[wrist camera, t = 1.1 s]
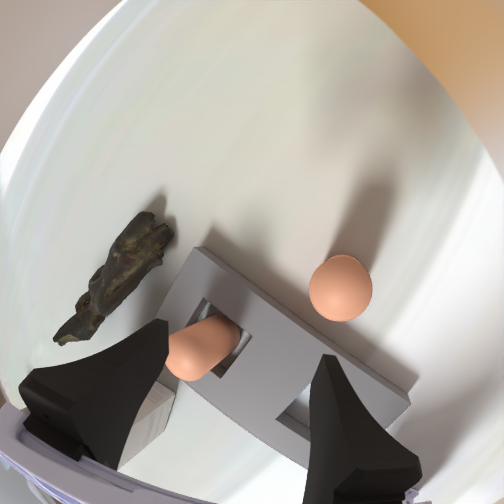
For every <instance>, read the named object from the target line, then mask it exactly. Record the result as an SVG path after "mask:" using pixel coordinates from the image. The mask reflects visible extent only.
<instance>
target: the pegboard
mask: <svg viewBox="0 0 504 504" xmlns="http://www.w3.org/2000/svg"><path fill="white" fill-rule="evenodd" d="M207 302H210V303H211V304H212V305H213V306H215V307H216V308H217V309H218V310H220V311H221V312H222V313H223V314H225V315H226V316H227V317H228V318H230V319H231V320H232V321H234V322H235V323H236V324H237V325H239V326H240V327H241V328H243V329H244V330H245V331H247V332H248V333H249V334H250V335H252V336H253V337H252V338H251V340H250V341H249V342H248V344H247V345H246V346H245V348H244V349H243V351H242V352H241V353H240V354H239V356H238V357H237V358H236V360H235V361H234V362H233V364H232V365H231V366H230V368H229V369H228V370H226V369H225V368H224V367H223V366H221V365H220V364H219V363H218V364H217V365H216V366H214V367H213V368H212V369H211V370H210V371H208V372H207V373H206V374H205V375H204V376H202V377H201V378H200V379H198V380H195V381H185V380H182V379H181V380H182V381H184V382H185V383H186V384H187V385H188V386H189V387H191V388H192V389H193V390H194V391H195V392H197V393H198V394H199V395H200V396H202V397H203V398H204V399H205V400H207V401H208V402H209V403H210V404H212V405H213V406H214V407H215V408H217V409H218V410H219V411H221V412H222V413H223V414H225V415H226V416H227V417H229V418H230V419H231V420H233V421H234V422H235V423H237V424H238V425H239V426H241V427H242V428H244V429H245V430H246V431H248V432H249V433H251V434H252V435H254V436H255V437H256V438H258V439H259V440H261V441H262V442H264V443H265V444H267V445H268V446H270V447H271V448H273V449H275V450H276V451H278V452H279V453H281V454H282V455H284V456H286V457H287V458H289V459H290V460H292V461H294V462H295V463H297V464H299V465H300V466H302V467H304V468H306V469H307V470H308V466H309V457H310V443H311V439H310V429H309V428H308V427H306V426H304V425H303V424H301V423H300V422H298V421H297V420H295V419H294V418H292V417H291V416H289V415H288V414H286V413H285V412H284V410H285V409H286V408H287V407H288V406H289V405H290V404H291V403H292V402H293V401H294V400H295V399H296V397H297V396H298V395H299V394H300V393H301V392H302V391H303V390H304V389H305V388H306V387H307V386H308V384H309V383H310V382H311V381H312V380H313V377H314V375H315V372H316V370H317V367H318V365H319V362H320V360H321V357H322V355H323V354H329V355H336V357H337V358H338V360H339V362H340V365H341V366H342V368H343V370H344V372H345V374H346V376H347V378H348V380H349V382H350V383H351V385H352V387H353V389H354V390H355V392H356V394H357V395H358V397H359V398H360V400H361V402H362V403H363V405H364V406H365V407H366V409H367V410H368V411H369V413H370V414H371V415H372V416H373V418H374V419H375V420H376V421H377V422H378V423H379V424H380V425H381V426H382V428H383V429H384V430H385V429H386V428H387V427H388V426H389V425H390V424H392V423H393V422H394V421H395V420H396V419H397V418H398V417H399V416H400V415H401V414H402V413H403V412H404V411H405V410H406V409H407V408H408V406H409V405H410V404H411V402H410V399H409V396H408V394H407V393H406V392H404V391H403V390H401V389H400V388H398V387H397V386H395V385H394V384H392V383H391V382H390V381H388V380H387V379H385V378H384V377H382V376H381V375H379V374H378V373H377V372H375V371H374V370H372V369H371V368H369V367H368V366H366V365H365V364H364V363H362V362H361V361H359V360H358V359H356V358H355V357H354V356H352V355H351V354H349V353H348V352H347V351H345V350H344V349H342V348H341V347H339V346H338V345H337V344H335V343H334V342H332V341H331V340H330V339H328V338H327V337H325V336H324V335H323V334H321V333H320V332H318V331H317V330H316V329H314V328H313V327H311V326H310V325H309V324H307V323H306V322H305V321H303V320H302V319H300V318H299V317H298V316H296V315H295V314H294V313H292V312H291V311H289V310H288V309H287V308H285V307H284V306H283V305H281V304H280V303H279V302H277V301H276V300H274V299H273V298H272V297H270V296H269V295H268V294H266V293H265V292H264V291H262V290H261V289H260V288H258V287H257V286H256V285H254V284H253V283H251V282H250V281H249V280H247V279H246V278H245V277H243V276H242V275H241V274H239V273H238V272H237V271H235V270H234V269H233V268H231V267H230V266H229V265H227V264H226V263H225V262H224V261H222V260H221V259H220V258H218V257H217V256H216V255H214V254H213V253H212V252H210V251H209V250H208V249H206V248H205V247H194V248H193V250H192V251H191V253H190V255H189V257H188V258H187V260H186V262H185V263H184V265H183V267H182V269H181V270H180V272H179V274H178V276H177V278H176V279H175V281H174V283H173V285H172V286H171V288H170V290H169V292H168V294H167V295H166V297H165V299H164V301H163V303H162V305H161V306H160V308H159V310H158V312H157V314H156V316H155V317H154V319H156V318H158V319H162V320H166V321H168V323H169V336H170V335H172V334H174V333H176V332H178V331H180V330H182V329H184V328H186V327H189V326H191V325H193V324H194V323H195V321H196V320H197V318H198V317H199V315H200V313H201V312H202V310H203V309H204V307H205V305H206V304H207ZM154 319H153V320H154ZM164 365H165V366H166V364H164Z"/></svg>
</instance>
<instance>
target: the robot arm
mask: <svg viewBox="0 0 504 504" xmlns="http://www.w3.org/2000/svg"><path fill="white" fill-rule="evenodd" d="M168 355H169V323H168V321H166V320H162V319H158V318H156V319H154V320H153V321H151V322H150V323H148V324H147V325H145V326H144V327H142V328H141V329H139V330H138V331H136V332H135V333H133V334H132V335H130V336H128V337H127V338H125V339H124V340H122V341H120V342H118V343H117V344H115V345H113V346H111V347H109V348H107V349H105V350H103V351H101V352H99V353H96V354H94V355H92V356H89V357H86V358H83V359H80V360H77V361H74V362H70V363H67V364H62V365H58V366H52V367H45V368H36V369H33V370H32V371H31V372H30V374H29V375H28V376H27V377H26V378H25V379H24V380H23V381H22V382H21V384H20V385H19V387H18V388H19V393H20V395H21V397H22V399H23V401H24V403H25V404H26V406H27V408H28V409H29V411H30V415H29V416H28V417H27V416H26V415H25V414H24V413H23V412H22V411H20V410H19V409H17V408H16V407H15V406H13V405H12V404H11V403H9V402H6V403H5V404H4V406H3V407H2V408H1V409H0V456H1V457H2V458H3V459H4V460H5V461H6V462H7V463H8V464H9V465H11V466H12V467H13V468H14V469H16V470H17V471H18V472H19V473H21V474H22V475H23V476H25V477H26V478H27V479H29V480H30V481H31V482H33V483H34V484H35V485H37V486H38V487H39V488H41V489H42V490H44V491H45V492H47V493H48V494H50V495H51V496H53V497H54V498H56V499H57V500H59V501H60V502H62V503H63V504H216V503H212V502H208V501H203V500H199V499H196V498H192V497H188V496H185V495H181V494H178V493H174V492H171V491H168V490H165V489H162V488H159V487H156V486H153V485H150V484H147V483H145V482H142V481H139V480H137V479H134V478H132V477H129V476H127V475H124V474H122V473H120V472H117V469H118V465H119V462H120V459H121V456H122V453H123V450H124V447H125V444H126V441H127V438H128V436H129V433H130V431H131V428H132V425H133V423H134V421H135V418H136V416H137V414H138V411H139V409H140V407H141V405H142V403H143V402H144V400H145V398H146V397H147V395H148V393H149V392H150V390H151V388H152V386H153V385H154V383H155V381H156V380H157V378H158V376H159V375H160V373H161V371H162V369H163V367H164V364H165V362H166V360H167V357H168ZM309 409H310V439H311V443H310V457H309V466H308V473H307V481H306V487H305V492H304V498H303V503H302V504H432V502H431V501H425V502H420V503H414V501H413V498H415V497H416V496H417V495H418V494H419V493H418V491H417V490H415V489H413V488H411V487H413V486H414V485H415V484H416V483H418V482H419V481H420V479H421V478H422V471H421V465H420V461H419V458H418V456H416V455H415V454H413V453H412V452H411V451H409V450H408V449H406V448H405V447H404V446H402V445H401V444H400V443H399V442H397V441H396V440H395V439H394V438H393V437H392V436H391V435H389V434H388V433H387V432H386V431H385V430H384V429H383V428H382V426H381V425H380V424H379V423H378V422H377V421H376V420H375V419H374V418H373V416H372V415H371V414H370V413H369V411H368V410H367V409H366V407H365V406H364V405H363V403H362V402H361V400H360V398H359V397H358V395H357V394H356V392H355V390H354V389H353V387H352V385H351V383H350V382H349V380H348V378H347V376H346V374H345V372H344V370H343V368H342V366H341V365H340V362H339V360H338V358H337V357H336V355H329V354H323V355H322V357H321V360H320V362H319V365H318V367H317V370H316V372H315V375H314V377H313V380H312V382H311V388H310V400H309Z"/></svg>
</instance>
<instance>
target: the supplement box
mask: <svg viewBox="0 0 504 504" xmlns="http://www.w3.org/2000/svg"><path fill="white" fill-rule="evenodd" d="M174 398H175V393H174V392H173V391H171V390H170V389H168V388H167V387H165V386H164V385H162V384H160V383H159V382H158V381H155V383H154V385H153V386H152V388H151V390H150V392H149V393H148V395H147V397H146V398H145V400H144V402H143V403H142V405H141V407H140V409H139V411H138V414H137V416H136V418H135V421H134V423H133V425H132V428H131V431H130V433H129V436H128V438H127V441H126V444H125V447H124V450H123V453H122V456H121V459H120V462H119V465H118V469H119V468H121V467H122V466H123V465H124V464H126V463H127V462H128V461H129V460H130V459H132V458H133V457H134V456H135V455H136V454H138V453H139V452H140V451H141V450H142V449H144V448H145V447H146V446H147V445H148V444H150V443H151V442H152V441H153V440H154V439H155V438H157V437H158V436H159V435H160V434H161V433H163V432H164V429H165V426H166V423H167V420H168V417H169V414H170V410H171V407H172V404H173V401H174ZM118 469H117V470H118Z"/></svg>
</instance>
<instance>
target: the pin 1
mask: <svg viewBox="0 0 504 504" xmlns="http://www.w3.org/2000/svg"><path fill="white" fill-rule="evenodd" d="M239 341H240V331H239V328H238V326H237V324H236V323H235V322H234V321H232V320H231V319H230V318H228V317H227V316H226V315H223V314H214V315H211V316H209V317H207V318H205V319H203V320H201V321H199V322H197V323H195V324H193V325H191V326H189V327H186V328H184V329H182V330H180V331H178V332H176V333H174V334H172V335H170V336H169V355H168V357H167V360H166V362H165V364H166V366H167V367H168V369H169V370H170V371H171V372H172V373H173V374H174V375H175V376H176V377H178V378H180V379H182V380H185V381H195V380H198V379H200V378H201V377H202V376H204V375H205V374H206V373H207V372H208V371H210V370H211V369H212V368H213V367H214V366H216V365H217V364H218V363H219V362H220V361H221V360H223V359H224V358H225V357H226V356H227V355H228V354H230V353H231V352H232V351H233V350H234V349H235V348H236V347H237V346H238V344H239Z"/></svg>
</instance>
